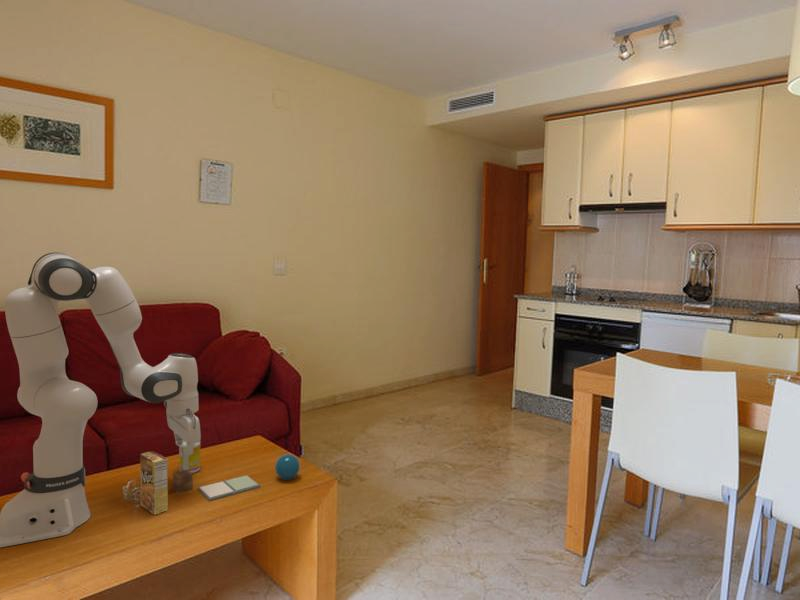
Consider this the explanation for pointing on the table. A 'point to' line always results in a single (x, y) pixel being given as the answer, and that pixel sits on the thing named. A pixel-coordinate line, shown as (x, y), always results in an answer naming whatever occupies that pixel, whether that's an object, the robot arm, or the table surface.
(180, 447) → the supplement bottle
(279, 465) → the ball
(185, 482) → the walnut token
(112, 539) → the table surface
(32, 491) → the robot arm
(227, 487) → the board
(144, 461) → the candy box
